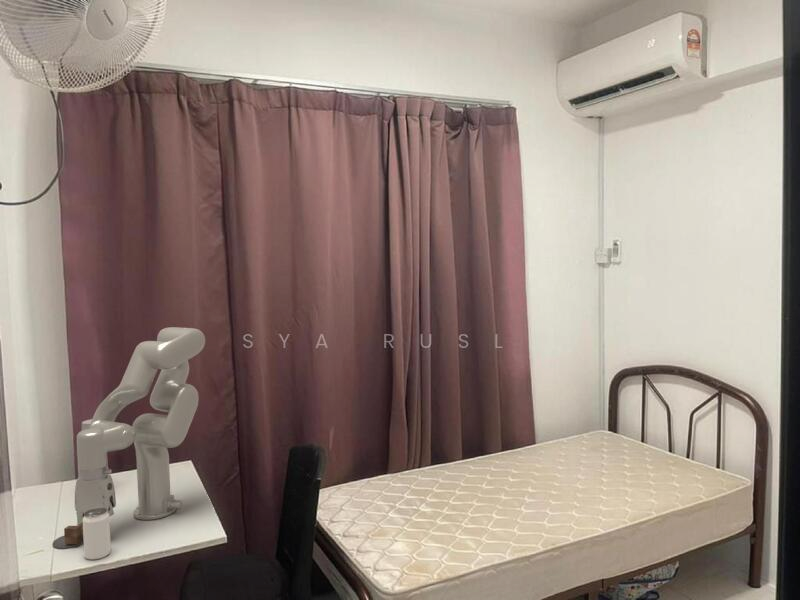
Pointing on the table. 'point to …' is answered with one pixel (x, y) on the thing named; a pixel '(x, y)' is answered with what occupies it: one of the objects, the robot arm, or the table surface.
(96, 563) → the table surface
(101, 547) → the can
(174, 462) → the table surface
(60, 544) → the pad
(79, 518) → the block
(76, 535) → the bar
